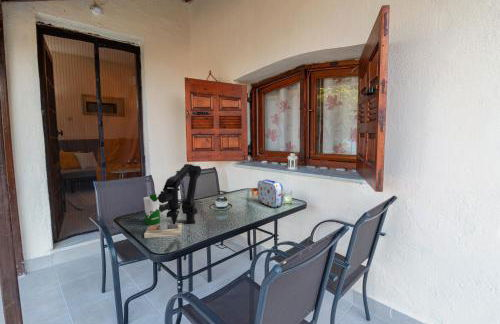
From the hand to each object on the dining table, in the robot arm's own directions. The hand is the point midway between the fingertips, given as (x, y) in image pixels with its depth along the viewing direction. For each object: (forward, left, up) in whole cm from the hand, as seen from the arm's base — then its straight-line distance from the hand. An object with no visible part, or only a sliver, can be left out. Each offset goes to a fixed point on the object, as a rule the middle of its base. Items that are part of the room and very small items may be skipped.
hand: (174, 223), depth 153 cm
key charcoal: (0, 0, -3) cm, 3 cm away
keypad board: (0, -6, -5) cm, 8 cm away
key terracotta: (0, -12, -4) cm, 13 cm away
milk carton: (-18, -16, -5) cm, 25 cm away
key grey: (0, -6, -3) cm, 7 cm away
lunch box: (-45, +74, -5) cm, 87 cm away
